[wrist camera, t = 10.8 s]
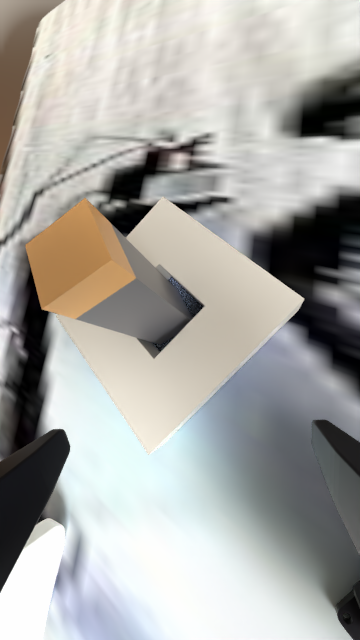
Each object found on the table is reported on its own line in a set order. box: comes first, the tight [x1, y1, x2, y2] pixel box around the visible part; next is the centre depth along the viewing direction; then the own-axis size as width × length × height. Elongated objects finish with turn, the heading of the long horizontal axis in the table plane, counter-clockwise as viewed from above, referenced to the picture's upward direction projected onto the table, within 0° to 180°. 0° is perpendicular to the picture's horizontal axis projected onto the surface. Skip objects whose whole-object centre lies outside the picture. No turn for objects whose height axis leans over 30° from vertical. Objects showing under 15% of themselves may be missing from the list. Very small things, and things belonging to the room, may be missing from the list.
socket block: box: [56, 197, 304, 455], centre depth 21 cm, size 16×16×3 cm
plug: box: [25, 198, 193, 345], centre depth 17 cm, size 4×4×13 cm
